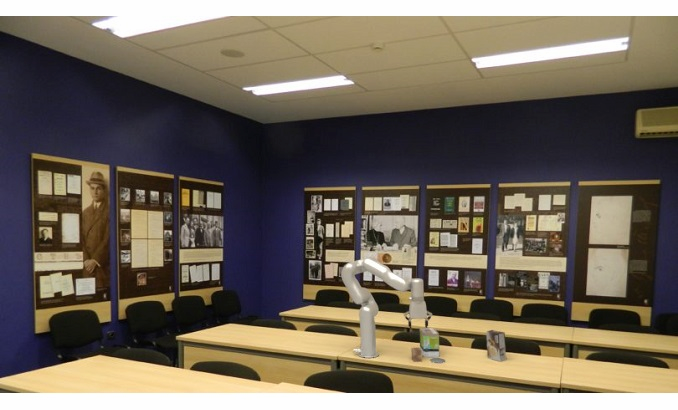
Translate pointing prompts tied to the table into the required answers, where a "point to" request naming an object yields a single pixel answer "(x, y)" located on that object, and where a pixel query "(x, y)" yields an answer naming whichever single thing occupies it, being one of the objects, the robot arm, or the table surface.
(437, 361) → the coaster
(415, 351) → the block
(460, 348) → the table surface
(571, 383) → the table surface
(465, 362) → the table surface
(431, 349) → the tea box
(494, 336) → the coffee box
